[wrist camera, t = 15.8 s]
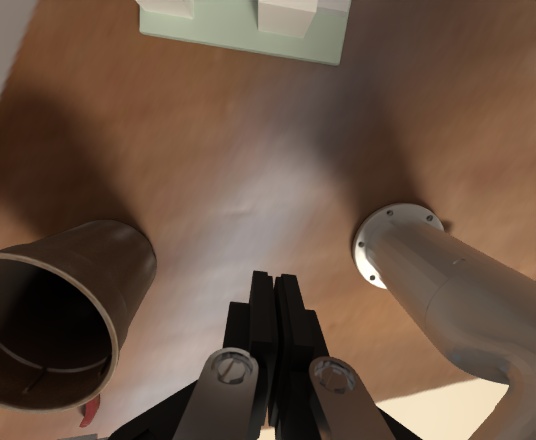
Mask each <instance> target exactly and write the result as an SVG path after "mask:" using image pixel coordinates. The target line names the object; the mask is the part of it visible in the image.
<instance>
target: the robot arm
mask: <svg viewBox="0 0 536 440" xmlns="http://www.w3.org/2000/svg"><path fill="white" fill-rule="evenodd" d="M387 211H389V212H388V213H387ZM359 242H360V243H359ZM358 243H359V244H358ZM352 253H353V260H354V263H355V266H356V267H357V269H358V271H359V272H360V274H361V275H362V276H363V277H364V278H365V279H366V280H367V281H368V282H369V283H371V284H373V285H375V286H377V287H380V288H384V289H388V290H389V291H390V293H391V294H392V295H393V296H394V297H395V299H396V300H397V301H398V302H399V303H400V305H401V306H402V307H403V308H404V309H405V311H406V312H407V313H408V314H409V316H410V317H411V318H412V319H413V320H414V322H415V323H416V324H417V325H418V326H419V328H420V329H421V330H422V331H423V332H424V334H425V335H426V336H427V337H428V339H429V340H430V341H431V342H432V343H433V345H434V346H435V347H436V348H437V349H438V350H439V352H440V353H441V354H442V355H443V356H444V357H445V358H446V359H447V360H448V361H449V362H451V363H452V364H453V365H455V366H456V367H458V368H459V369H461V370H463V371H464V372H466V373H468V374H471V375H473V376H476V377H479V378H481V379H485V380H488V381H492V382H496V383H501V384H507V385H509V388H508V390H507V392H506V394H505V395H504V396H503V398H502V399H501V400H500V401H499V403H498V404H497V405H496V406H495V409H494V411H493V412H492V413H491V414H490V415H489V416H488V417H487V419H486V420H485V421H484V422H483V423H482V424H481V425H480V427H479V428H478V429H477V430H476V431H475V432H474V433H473V434H472V436H471V437H470V438H469V439H468V440H536V281H535V280H533V279H531V278H529V277H527V276H525V275H523V274H522V273H520V272H518V271H516V270H514V269H512V268H510V267H508V266H506V265H504V264H502V263H501V262H499V261H497V260H495V259H493V258H491V257H489V256H488V255H486V254H484V253H482V252H480V251H478V250H476V249H475V248H473V247H471V246H469V245H467V244H465V243H463V242H462V241H460V240H458V239H456V238H454V237H452V236H450V235H449V234H447V233H445V232H444V228H443V226H442V224H441V222H440V220H439V219H438V218H437V216H436V215H435V214H433V213H432V212H431V211H430V210H428V209H426V208H424V207H422V206H419V205H416V204H413V203H395V204H391V205H387V206H385V207H383V208H380V209H378V210H377V211H375V212H374V213H372V214H371V215H370V216H369V217H368V218H367V219H366V220H365V221H364V222H363V223H362V225H361V226H360V227H359V229H358V231H357V233H356V235H355V238H354V242H353V249H352ZM267 407H268V423H269V426H273V427H275V439H276V440H422V439H421V438H420V437H418V436H417V435H415V434H414V433H412V432H411V431H410V430H409V429H407V428H406V427H404V426H403V425H402V424H400V423H399V422H398V421H396V420H395V419H394V418H392V417H391V416H389V415H388V414H387V413H385V412H384V411H383V410H381V409H380V408H378V407H377V406H376V404H375V403H374V401H373V399H372V398H371V396H370V394H369V392H368V391H367V389H366V387H365V386H364V384H363V382H362V380H361V379H360V377H359V375H358V374H357V373H356V371H355V370H354V369H353V368H352V367H351V366H350V365H348V364H347V363H346V362H344V361H342V360H340V359H337V358H334V357H330V356H329V353H328V349H327V346H326V343H325V340H324V337H323V334H322V331H321V328H320V324H319V321H318V318H317V315H316V312H315V311H314V310H306V309H305V308H304V304H303V300H302V296H301V293H300V289H299V285H298V281H297V277H296V275H289V274H281V277H276V279H275V285H274V288H273V278H272V276H268V273H267V272H263V271H253V277H252V284H251V291H250V298H249V303H240V302H230V305H229V311H228V318H227V324H226V330H225V336H224V342H223V348H222V349H220V350H218V351H215V352H214V353H213V354H212V355H210V356H209V358H208V359H207V361H206V363H205V365H204V367H203V370H202V372H201V374H200V377H199V379H198V380H196V381H195V382H193V383H191V384H190V385H188V386H186V387H185V388H183V389H181V390H180V391H178V392H177V393H175V394H173V395H172V396H170V397H168V398H167V399H165V400H164V401H162V402H160V403H159V404H157V405H155V406H154V407H152V408H150V409H149V410H147V411H146V412H144V413H142V414H141V415H139V416H137V417H136V418H134V419H132V420H131V421H129V422H128V423H126V424H124V425H123V426H121V427H120V428H119V429H117V430H116V431H115V432H114V433H112V434H111V436H110V437H106V438H100V439H98V437H97V434H91V435H84V436H78V437H71V438H65V439H58V440H257V439H258V438H259V436H260V430H261V426H264V423H265V417H266V412H267Z"/></svg>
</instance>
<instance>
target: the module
mask: <svg viewBox="0 0 536 440" xmlns="http://www.w3.org/2000/svg"><path fill="white" fill-rule="evenodd" d="M317 3H318V0H258V30H259V31H265V32H270V33H276V34H282V35H288V36H293V37H299V38H304V36H305V34H306V32H307V30H308V28H309V26H310V24H311V22H312V20H313V17H314V15H315V13H316V9H317Z"/></svg>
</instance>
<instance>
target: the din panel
mask: <svg viewBox="0 0 536 440" xmlns="http://www.w3.org/2000/svg"><path fill="white" fill-rule="evenodd" d="M135 1H136V2H137V3H138V4H139V5H140V32H141V33H142V34H144V35H150V36H156V37H162V38H168V39H174V40H180V41H186V42H192V43H199V44H205V45H211V46H217V47H223V48H229V49H235V50H241V51H247V52H253V53H260V54H266V55H272V56H278V57H284V58H290V59H296V60H302V61H308V62H314V63H320V64H327V65H333V66H338V65H339V63H340V58H341V52H342V47H343V42H344V36H345V31H346V26H347V20H348V15H349V10H350V4H351V0H318V3H317V9H316V13H315V15H314V17H313V20H312V22H311V24H310V26H309V28H308V30H307V32H306V34H305V36H304V38H299V37H293V36H288V35H282V34H276V33H270V32H265V31H259V30H258V0H135Z"/></svg>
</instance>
